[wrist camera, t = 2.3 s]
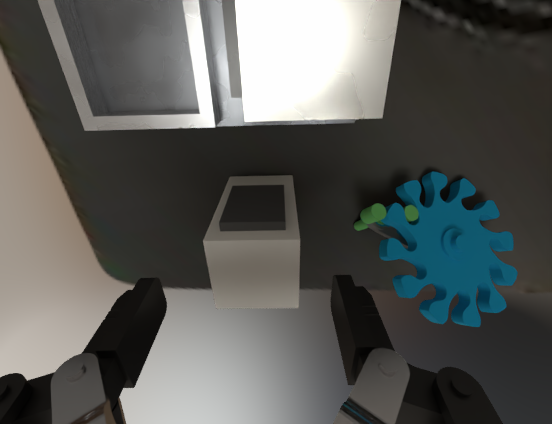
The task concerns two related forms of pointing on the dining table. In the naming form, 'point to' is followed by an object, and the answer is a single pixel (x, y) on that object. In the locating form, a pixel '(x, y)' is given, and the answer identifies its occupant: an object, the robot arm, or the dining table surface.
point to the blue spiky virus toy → (443, 248)
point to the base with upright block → (223, 60)
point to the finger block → (255, 244)
